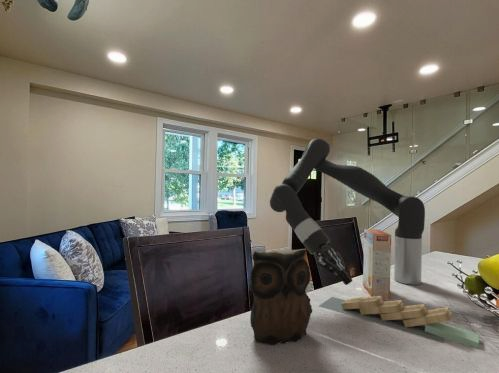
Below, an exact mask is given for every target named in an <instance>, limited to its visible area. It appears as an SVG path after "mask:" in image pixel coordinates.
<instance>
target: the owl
mask: <svg viewBox="0 0 499 373" xmlns="http://www.w3.org/2000/svg"><path fill="white" fill-rule="evenodd" d="M306 252H307V250H306V249H305V248H303V249H302V248H301V249H281V250H279V249H278V250H271V251H260V252H259V251H256V250H255V251H253V253H252V258H251V259H252V262H253V266H252V269H251V271H250V277H249V278H250V284H249V287H250V290H251V292H252V295H253V303H252V307H251V311H250V317H249V318H250V321H249V322H250V326H251V329H252V331H253V333H254V334H253V338H254V341H255V342H256V343H260V344H263V345H267V346H268V345H269V346H276V345H278V344H283V345H284V344H285V343H286V344H288V343H290V342H294V343H297V342H298V341H300V340H301V339H302V338H303V337H304V336H305V335H306V334H307V329H308V326H309V323H310V320H311V315H312V314H313V308H312V305H311V298H310V297H309V296H308V294H307V292H306V290H307V287H308V286H309V284H310V282H311V280H310V279H311V272H310V266H309V264H308V262H307V260H306V258H305V255H306ZM287 342H288V343H287ZM286 344H285V345H286Z"/></svg>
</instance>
